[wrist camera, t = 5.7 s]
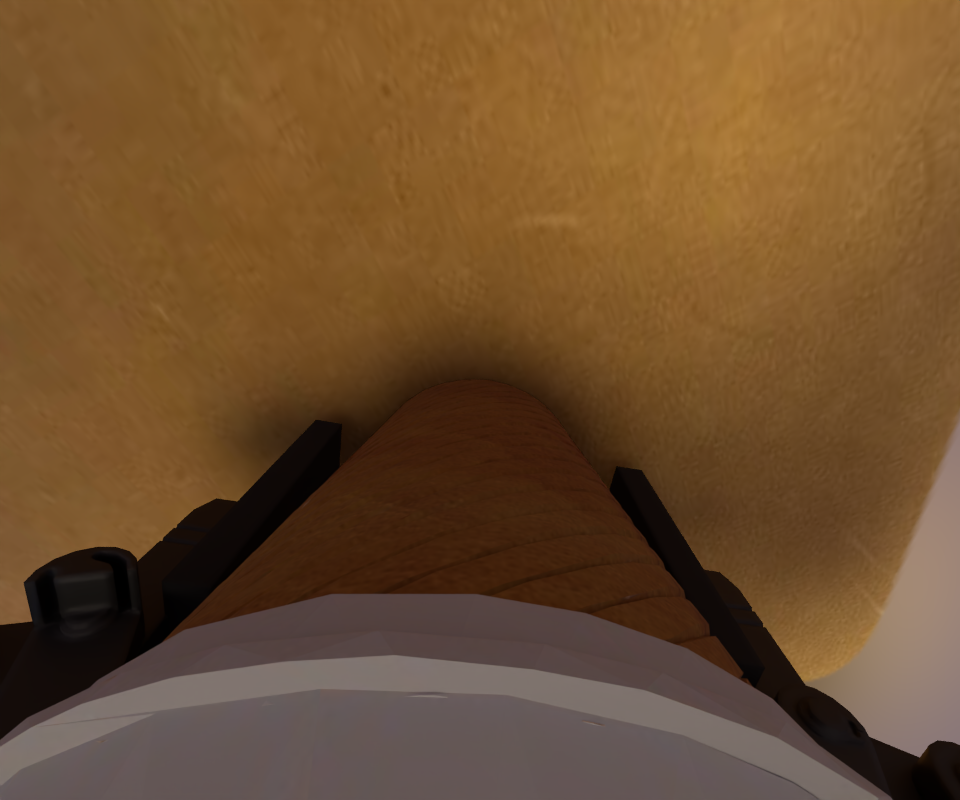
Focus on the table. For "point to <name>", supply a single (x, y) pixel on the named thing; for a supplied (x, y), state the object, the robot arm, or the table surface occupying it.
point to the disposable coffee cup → (436, 649)
